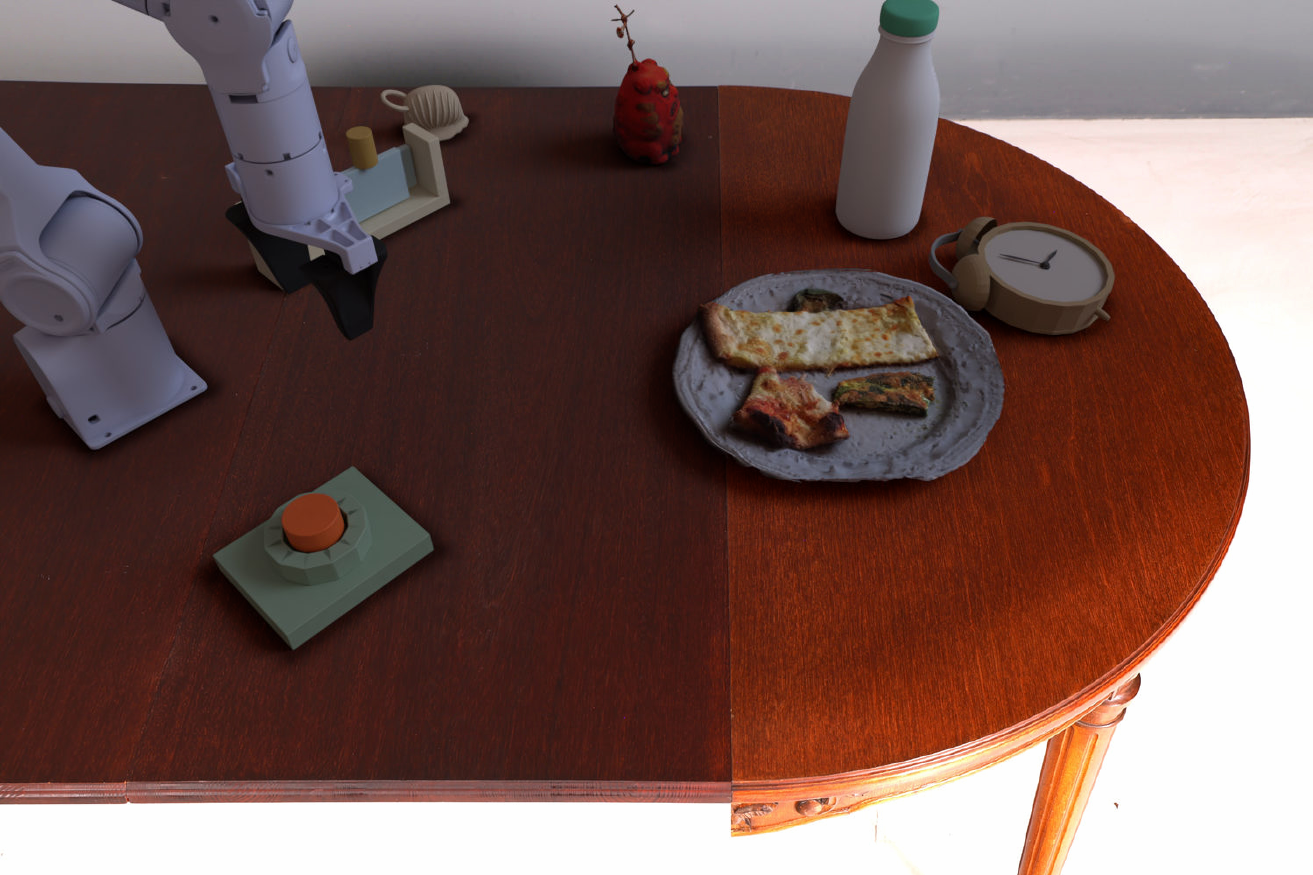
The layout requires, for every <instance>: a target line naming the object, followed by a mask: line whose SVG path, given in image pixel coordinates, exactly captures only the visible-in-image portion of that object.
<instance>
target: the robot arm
mask: <svg viewBox="0 0 1313 875" xmlns="http://www.w3.org/2000/svg"><path fill="white" fill-rule="evenodd" d="M294 1H295V0H111V2H115V3H117V4H119V5H121V6H124V7H126V8H129V9H131V10H134V11H136V12H138V13H141V14H143V15H145V16H148V17H150V18H152V19H155V20H157V21H159V22H162V23H163V24H164V26H165V28H166V30H167V32H168V33H169V35H170V36H171V37H172V38H173V40H174V41H175V42H176V43H177V45H178V46H179V47H180V48H181V49H183V50H184V51H185V52H186V53H187V54H188V55H190V56H191V57H192V58H193V59H194V60H195V61H196V63H197V64H198V65H199V67H200V69H201V71H202V75H203V77H204V80H205V82H206V85H207V87H208V90H209V92H210V95H211V98H212V101H213V104H214V107H215V110H216V112H217V115H218V118H219V122H220V124H221V127H222V130H223V133H224V136H225V138H226V142H227V145H228V148H229V151H230V154H231V157H232V160H233V162H229V163H228V164H226V165H224V169H225V172H226V175H227V178H228V181H229V184H230V187H231V189H232V191H234V192H235V193H237V194H238V195H240V196H241V198H240V201H242V202H240V201H239V202H240V203H238V202H237V203H238V204H236V203H235V204H236V205H235V204H234V205H232V206H230V207H228V208H227V209H226V211H225V213H224V216H225V219H226V220H228V221H229V222H230V224H232V225H233V226H234V227H235V228H237V230H238V231H240V233H241V234H242V235H244V237H245V238H246V239H248V240H249V241H250V242H251V243H252V245H253V246H254V247H255V249H256V250H257V251H258V253H259V254H260V255H261V257H262V258H263V260H264V261H265V263H266V265H267V266H268V268H269V269H270V271H271V272H272V274H273V276H274V277H275V279H276V280H277V282H278V283H279V285H280V286H281V287H282V288H283V291H284V292H285V293H287V294H288V295H292V294H294V293H296V292H298V291H299V290H301V289H303V288H305V287H307V286H308V285H310V284H311V285H312V286H313V287H315V289H316V291H318V293H319V294H320V296H321V297H322V299H323V301H324V303H325V304H326V306H327V307H328V309H329V312H330V314H331V316H332V318H333V321H334V322H335V325H336V327H337V329H338V330H339V332H340V333H341V335H342V336H343V337H344V339H345V338H346V339H347V340H348V342H349V341H350V342H351V341H354V340H355V339H357V338H359V337H361V336H362V335H364V334H366V333H368V332H369V331H371V330H373V328H374V319H375V303H376V299H375V298H376V292H377V290H376V289H377V285H378V281H379V277H380V274H381V272H382V270H383V267H384V265H385V262H386V261H387V259H388V256H389V252H388V247H387V244H386V243H385V242H384V241H382V239H380V240H379V239H378V238H376V237H375V236H373V235H371V236H370V235H368V234H367V233H366V232H365V231H364V230H363V229H362V228H361V226H360V225H359V223H358V221H357V219H356V217H355V216H354V214H353V212H352V210H351V208H350V206H349V204H348V202H347V200H346V198H345V196H344V195H346V194H347V193H349V192H351V191H352V190H353V184H352V180H351V179H350V178H348V177H346V176H345V175H343V174H342V173H340V172H341V171H334V170H333V167H332V163H331V158H330V155H329V152H328V148H327V144H326V139H325V137H324V133H323V129H322V125H321V122H320V117H319V114H318V111H317V110H318V109H317V106H316V103H315V99H314V95H313V91H312V88H311V84H310V80H309V77H308V73H307V68H306V65H305V62H304V60H303V57H302V53H301V49H300V46H299V42H298V37H297V35H296V31H295V26H294V24H293V21H292V19H286V17H287V16H288V14H289V13H290V11H291V9H292V8H293V4H294ZM248 240H247V241H248ZM143 242H144V236H143V230H142V228H141V225H140V223H139V221H138V219H137V217H135V216H134V214H133V212H131V211H130V210H129V209H128V208H127V207H126V206H125V205H123V204H122V203H121V202H120V201H119V200H116V199H115V198H113V197H111V196H109V195H107V194H105V193H103V192H102V191H100V190H98V189H97V188H95V187H94V186H93V185H92V184H91V183H89V182H88V181H87V179H85V178H84V177H83V176H82V175H81V174H80V172H79V171H77V169H73V168H68V167H58V166H47V165H41V164H37V163H36V161H34V160H33V158H31V157H30V155H28V153H26V152H25V151H24V149H23V148H22V147H21V146H20V145H18V144H17V142H15V140H13V138H12V137H11V136H10V135H9V134H8V133H7V132H6V131H5V130H4V129H3V128H2V127H1V126H0V302H1V304H2V305H3V306H4V308H5V309H6V310H7V311H8V313H9V314H11V315H12V316H13V317H14V318H15V319H16V320H18V321H19V322H20V323H22V324H23V325H25V326H24V327H23V328H21V329H20V330H18V331H17V332H15V333H13V334H12V339H13V342H14V344H15V345H16V347H17V350H18V351H19V353H20V355H21V356H22V358H23V359H24V361H25V363H26V365H27V366H28V368H29V369H30V371H31V373H32V375H33V376H34V378H35V380H36V381H37V383H38V385H39V386H40V388H41V390H42V392H43V393H44V395H45V396H46V401H47V403H48V405H49V406H50V408H51V409H52V410H53V412H54V414H55V415H56V416H57V417H58V418H59V419H62V420H64V422H66V423H67V425H68V426H69V427H70V428H71V429H72V430H73V431H74V432H75V434H76V435H77V436H78V437H79V438H80V439H81V441H82V442H84V444H86V446H87V447H88V448H89V449H90V450H92V451H95V450H99V449H102V448H104V447H105V446H106V445H109V444H110V443H113V442H114V441H116V440H118V439H119V438H121V437H123V436H125V435H127V434H129V433H130V432H132V431H134V430H136V429H138V428H140V427H141V426H143V425H145V424H147V423H148V422H151V421H153V420H154V419H156V418H158V417H160V416H162V415H164V414H165V413H167V412H169V411H170V410H172V409H174V408H176V407H178V406H179V405H181V404H183V403H185V402H187V401H189V400H191V399H192V398H195V397H196V396H198V395H200V394H202V393H203V392H205V391H206V390H207V389H208V385H207V383H206V381H205V380H204V379H203V378H201V377H200V375H198V374H197V373H196V372H195V371H194V370H193V369H192V368H190V367H189V365H187V364H186V363H185V362H184V361H183V360H182V359H181V358H180V357H179V356H178V355H177V354H176V352H175V350H174V348H173V346H172V343H171V341H170V339H169V337H168V334H167V332H166V330H165V327H164V325H163V324H162V321H161V319H160V317H159V315H158V313H157V310H156V308H155V306H154V304H153V301H152V299H151V297H150V295H149V293H148V290H147V288H146V286H145V285H144V282H143V279H142V277H141V273H142V269H141V267H140V265H139V263H138V261H137V258H136V257H137V255H138V254H139V253H140V251H141V249H142V246H143V245H144V244H143ZM308 245H311V246H315V247H318V248H322V249H324V253H325V255H321V256H319V257H317V258H315V259H313V260H311V259H310V254H309V249H308Z"/></svg>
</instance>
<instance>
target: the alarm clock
mask: <svg viewBox="0 0 1313 875" xmlns="http://www.w3.org/2000/svg"><path fill="white" fill-rule="evenodd" d="M955 242H956V243H955ZM952 243H955V250H954V251H955V257H956V260H957V263H955V266H953V269H952V271H951V272H950V271H949V270H948V269H947V268H945V267H944V266H943V265H942V264H941V263H940V262H939V261H938V259H937V257H936V252H935V251H936V250H937V249H939V248H940V247H942V246H944V245H947V244H952ZM928 264H929V268H930V269H931V271H932V272H933V273H934V274H935V276H937V277H938V278H939V279H941V280H942V281H943V282H944V283H946V284H947V286H948V288H949V289H950V291H951V294H952V297H953V299H954V301H955V303H956V304H957V305H959V306H961V307H962V308H964V310H965V311H970V312H979V311H982V309H984V310H985V311H986V312H988V313H989V315H991V316H993V317H994V318H996V319H998V320H1000V321H1002V322H1004V323H1005V324H1007V325H1009V326H1012V327H1015V328H1018V329H1021V330H1024V331H1027V332H1029V333H1035V334H1042V335H1050V336H1057V335H1068V334H1075V333H1078V332H1080V331H1082V330H1084V329H1087V328H1089V327H1090V326H1091V325H1092V324H1093V323H1094V322H1095V321H1096V320H1097V319H1098V318H1099V319H1101V320H1104V321H1106V322H1108V321H1109V320H1110V319H1111V316H1110V315H1109V314H1108V313H1107V312H1106V311H1105V310H1104V309H1102V308H1103V307H1104V304H1105V303H1106V301H1107V298H1108V297H1109V294H1110V293H1111V292H1112V290H1113V286H1114V283H1115V280H1116V276H1115V272H1114V268H1113V264H1112V263H1111V262H1110V261H1109V259H1108V258H1107V256H1106V255H1105V254H1104V252H1103V250H1101V249H1099V248H1098V247H1097V246H1095V245H1094V244H1093V243H1092V242H1090V241H1089V240H1088V239H1086V238H1084V237H1082V236H1080V235H1078V234H1076V233H1074V232H1072V231H1070V230H1067V229H1064V228H1061V227H1058V226H1055V225H1051V224H1048V223H1039V222H1034V221H1033V222H1032V221H1019V222H1007V223H1005V224H1001V225H999V226H998V221H997V219H996V218H993V217H990V216H980V217H977V218H974V219H973V220H971V221H970V222H969V223H967V225H966V226H965V227H964V228H958V229H957V231H956V232H949V233H945V234H943V235H940V236H938V237H937V238H936V239H935V240H934V241H933V243H932V245H931V248H930V251H929V254H928Z"/></svg>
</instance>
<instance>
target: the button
mask: <svg viewBox="0 0 1313 875" xmlns="http://www.w3.org/2000/svg"><path fill="white" fill-rule="evenodd" d="M281 522H282V526H283V528H284V531H285V533H286V535H287V538H288V540H289V542H290V544H291V545H292V546H293V547H294V548H295V549H297V550H299V551H302V552H307V553H312V552H319V551H322V550H325V549H327V548H329V547H331V546H332V545H334V544H335V543H336V542H337V541H338V540H339V539H340V537H341V536H342V534H343V531H344V521H343V518H342V515H341V513H340V510H339V507H338V504H337V502H336V501H335V500H334V499H333V498H332V497H330V496H328V495H325V494H320V493H313V494H307V495H304V496H301V497H299V498H297V499H295V500H294V501H292V502H291V503H290V504H289V505H288V506H287V507H286V508H285V510H284V512H283V514H282V518H281Z"/></svg>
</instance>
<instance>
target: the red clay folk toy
mask: <svg viewBox="0 0 1313 875" xmlns="http://www.w3.org/2000/svg"><path fill="white" fill-rule="evenodd" d="M613 7H614V8H615V9H616V11H617V12H618V13H619V14H620V18H612V19H611V20H610V22H619V21H620V22H621V23H622V25H621V27H620V26H617V27H616V30H615V33H616V36H617V38H619V39H623V38H624V36H625V32H626V36H627V44H626V47H627V49H628V50H629V51H630V53H631V58H632V62H631V63H630V64H629V65H628V67H627V70H626V73H625V74H624V76H623V78H622V79H621V83H620V86H619V88H618V92H617V94H616V96H615V102H614V115H613V118H612V123H613V125H612V133H613V136H614V143H615V145H616V147H618V148H619V149H621V150H622V151H623V153H624V154H625V155H626V156H627V157H629V158H630V159H631V160H634V161H636V162H637V163H639V164H646V163H647V162H649V163H650V165H654V166H657V165H664V164H665V163H666V162H667V161H668V160H669V159H671V158H674V157H675V156H678V155H679V152H680V147H679V146H680V145H681V143H682V138H683V137H682V132H683V129H684V120H683V119H684V111H683V108H682V107H681V102H680V99H679V92H678V89H677V87H676V86H675V85H674V84H673V83H672V81H671V79H670V73H669V71H668V70H667V68H666V67H664V66H660V65H658V62H657V61H656V59H653V58H650V57H648V58H645V59H643V60H642V61H638V59H637V57H636V54H635V51H634V48H633V46H634V45H635V43H636V40H634V39H632V38H631V36H630V32H629V28H628V24H627V23H628V20H629V19H628V18H629V17H630V16H632V15H633V14H634V12H635V9H632V10H631V12H629V13H628V14H625V13H624V12H623V10H622V9H621V8H620V6H619V5H618V4H617V3H616V4H615V5H613Z"/></svg>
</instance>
